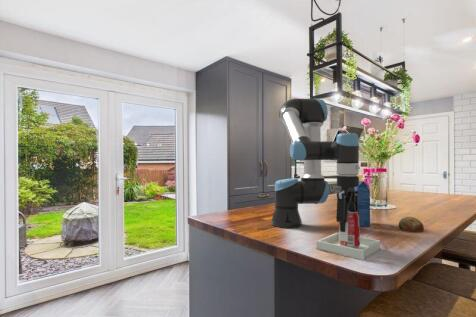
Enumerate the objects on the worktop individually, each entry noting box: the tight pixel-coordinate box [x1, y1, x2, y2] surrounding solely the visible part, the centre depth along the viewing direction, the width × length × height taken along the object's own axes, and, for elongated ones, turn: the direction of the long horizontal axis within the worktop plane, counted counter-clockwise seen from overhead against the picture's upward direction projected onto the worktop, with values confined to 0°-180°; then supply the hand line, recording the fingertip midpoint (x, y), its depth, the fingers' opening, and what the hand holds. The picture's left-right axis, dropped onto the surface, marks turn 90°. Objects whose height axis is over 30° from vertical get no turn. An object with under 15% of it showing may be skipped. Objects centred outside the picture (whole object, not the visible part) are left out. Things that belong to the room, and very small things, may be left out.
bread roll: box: [398, 216, 425, 233], centre depth 130 cm, size 10×10×8 cm
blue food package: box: [354, 174, 371, 228], centre depth 142 cm, size 6×12×25 cm, turn 168°
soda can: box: [338, 211, 361, 249], centre depth 102 cm, size 7×7×13 cm
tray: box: [315, 232, 381, 261], centre depth 101 cm, size 17×17×3 cm
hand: (348, 238), depth 101 cm, fingers open, 7 cm apart
